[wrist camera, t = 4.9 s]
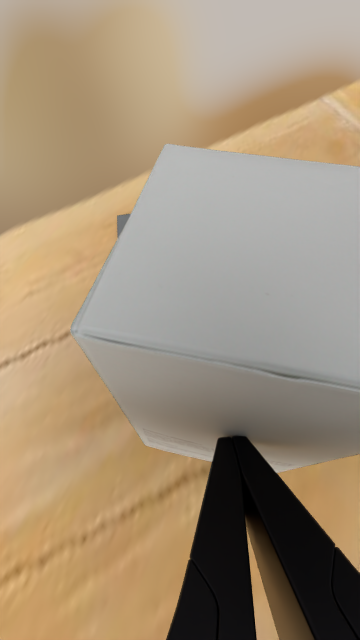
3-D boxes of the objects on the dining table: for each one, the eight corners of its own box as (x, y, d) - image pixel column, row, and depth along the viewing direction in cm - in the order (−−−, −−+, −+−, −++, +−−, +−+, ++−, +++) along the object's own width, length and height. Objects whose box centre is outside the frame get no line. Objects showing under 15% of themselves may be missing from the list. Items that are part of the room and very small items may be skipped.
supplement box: (275, 355, 18) (414, 165, 8) (271, 479, 14) (542, 437, 4) (169, 334, 19) (164, 134, 9) (138, 446, 15) (55, 334, 5)
